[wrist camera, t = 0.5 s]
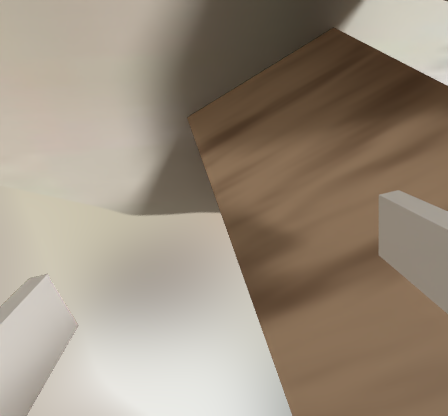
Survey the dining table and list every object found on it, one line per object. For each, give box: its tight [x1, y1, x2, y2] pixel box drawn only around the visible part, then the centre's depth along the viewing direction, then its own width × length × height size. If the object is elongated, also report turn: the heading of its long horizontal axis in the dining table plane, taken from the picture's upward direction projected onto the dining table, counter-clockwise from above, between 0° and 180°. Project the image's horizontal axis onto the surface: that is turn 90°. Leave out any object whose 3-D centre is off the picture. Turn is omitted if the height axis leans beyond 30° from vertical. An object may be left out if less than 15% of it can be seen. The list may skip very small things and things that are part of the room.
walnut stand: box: [187, 28, 448, 416], centre depth 21 cm, size 16×16×32 cm
